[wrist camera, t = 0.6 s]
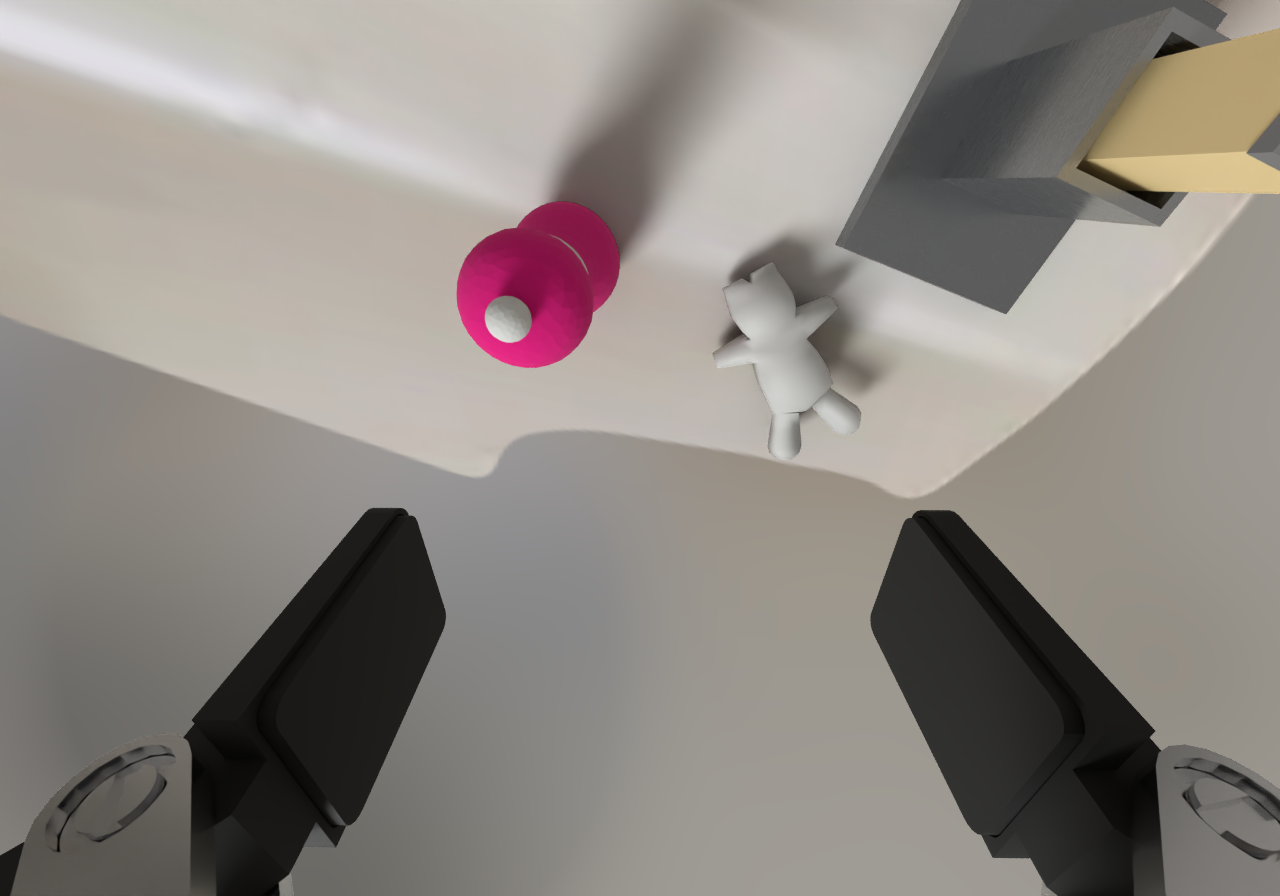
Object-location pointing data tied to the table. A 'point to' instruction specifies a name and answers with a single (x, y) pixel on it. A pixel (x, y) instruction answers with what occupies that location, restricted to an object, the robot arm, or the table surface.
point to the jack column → (1198, 123)
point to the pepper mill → (538, 284)
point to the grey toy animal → (784, 357)
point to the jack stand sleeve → (1015, 139)
